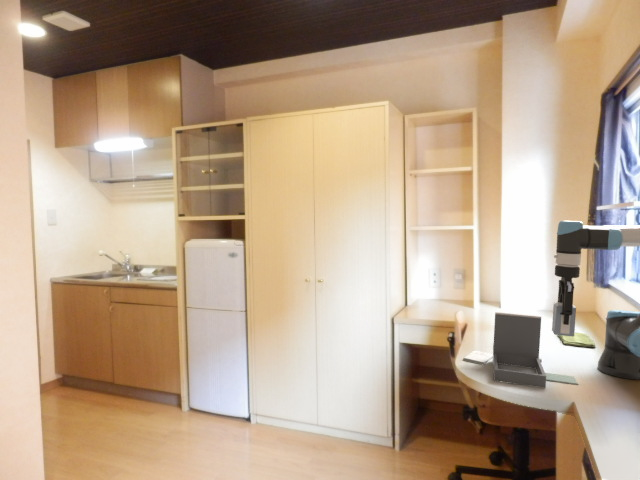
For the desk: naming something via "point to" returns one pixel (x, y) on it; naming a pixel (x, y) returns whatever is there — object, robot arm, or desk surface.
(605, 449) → the desk surface
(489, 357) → the external hard drive
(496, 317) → the case
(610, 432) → the desk surface
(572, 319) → the block
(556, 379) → the mat
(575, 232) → the robot arm
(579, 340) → the washcloth
